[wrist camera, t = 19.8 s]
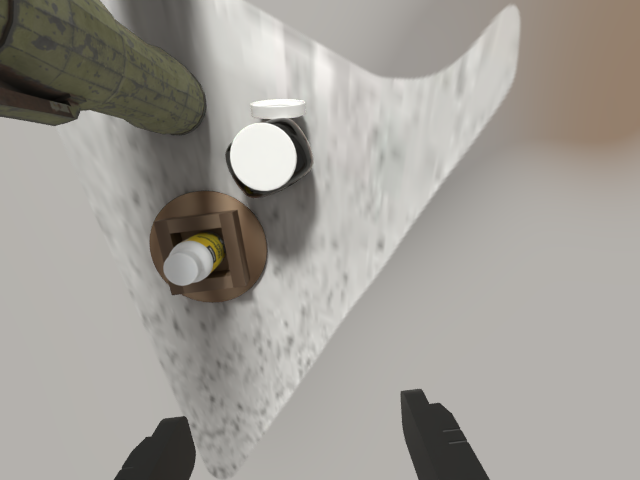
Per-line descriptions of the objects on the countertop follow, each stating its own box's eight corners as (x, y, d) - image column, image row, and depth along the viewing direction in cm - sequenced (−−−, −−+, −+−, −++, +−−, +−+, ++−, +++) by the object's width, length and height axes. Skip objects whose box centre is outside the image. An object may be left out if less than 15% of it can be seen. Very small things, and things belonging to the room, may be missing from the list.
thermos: (164, 156, 41) (-556, 96, 7) (122, 67, 38) (-1398, -742, 4) (222, 133, 40) (-245, -51, 6) (184, 42, 38) (-972, -1106, 4)
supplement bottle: (235, 250, 44) (214, 272, 34) (209, 272, 44) (181, 301, 35) (209, 222, 42) (179, 238, 33) (182, 246, 43) (146, 268, 34)
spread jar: (258, 201, 43) (239, 212, 32) (217, 127, 40) (181, 111, 29) (332, 162, 42) (340, 160, 31) (295, 85, 39) (288, 51, 28)
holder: (256, 184, 42) (251, 185, 38) (274, 293, 46) (271, 304, 43) (139, 198, 42) (122, 201, 38) (167, 306, 46) (155, 318, 43)
